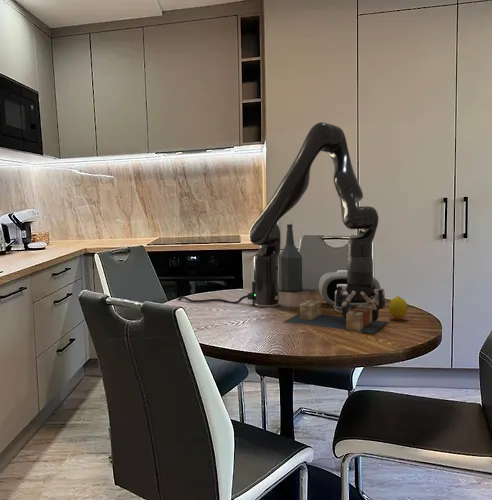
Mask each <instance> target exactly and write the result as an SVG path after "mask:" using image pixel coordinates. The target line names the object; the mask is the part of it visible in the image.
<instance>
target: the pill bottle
mask: <svg viewBox="0 0 492 500" xmlns="http://www.w3.org/2000/svg"><path fill="white" fill-rule="evenodd" d="M338 286H343V287H347V284H337V287H338ZM336 294H337V290H336V291H335V308H334V311H335V312H339V313H342V306H341V305H339V304H336ZM348 296H349V294H348V293H347V292H346V290H345V292H344V293H343V296H342V301H345V300H346V298H347V297H348ZM347 306H348V312H350V311H352V308H351V301H350V303H349V304H348V305H347Z"/></svg>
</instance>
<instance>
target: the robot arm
mask: <svg viewBox="0 0 492 500" xmlns="http://www.w3.org/2000/svg"><path fill="white" fill-rule="evenodd" d="M321 152H324V153H327V154H328V156H329V157H330V159H331V161H332V163H333V176H332V177H333V178H332V180H333V186H334V188H335V191H336V194H337V196H338V198H339V202H340V212H341V221H342V223H343V225H344V226H345V227H346V228H347V229H349V230H358V233H357V234H356V235H354V236H352V237H350V238H349V239H348V243H347V262H346V263H347V264H346V270H347V287H343V286H338V287H337V294H336V304H339V305H341V306H342V312H341V313H342V314H341V316H342V317H344V318H346V313H348V306H347V305H348V304H349V303H350V301H351V300H354V301H361V302H365V301H367V303H368V304H369V305H370V306H371V307H372V308H373V310H372V321H373V322H375V321H378V320H379V311H380V310H382V309H384V308H385V307H386V298H385V297H386V296H385V289H384V288H381V289H374V288H373V277H374V257H373V242H374V239H375V236H376V233H377V229H378V227H379V219H380V218H379V212H378V211H377V209H376V208H374V207H373V206H369V205H365V206H357V203H359V202H361V201H362V200H363V198H364V192H363V190H362V187H361V185H360V182H359V180H358V178H357V175H356V173H355V171H354V167H353V164H352V160H351V156H350V152H349V147H348V143H347V139H346V134H345V132H344V130H343V129H342V128H341V126H338V125H335V124H332V123H327V122H323V121H320V122H317V123H315V124H314V125H313V126H312V127H311V128H310V129H309V131H308V133H307V135H306V136H305V139H304V140H303V142H302V144H301V147H300V149H299V151H298V153H297V154H296V157H295V158H294V160H293V162H292V164H291V165H290V167H289V168H288V170H287V172H286V173H285V175H284V176H283V178H282V180H281V181H280V182H279V185H278V186H277V188H276V189H275V191H274V193H273V195H272V196H271V198H270V199H269V201H268V202H267V204H266V206H265V207H264V209H263V210H262V211H261V213H260V214H259V215H258V216H257V218H256V219H255V220H254V222H253V223H252V224H251V226H250V228H249V231H248V238H249V241H250V242H251V244H253V245H255V246H259V249H258V251H257V252H256V253H255V254H254V255H253V281H252V282H251V292H249V293H247V295H243V296H241V297H240V298H239V299H238V300H236V301H230V300H228V299H227V300H226V299H222V298H208V299H191V298H188V297H187V296H180V297H178V298H177V301H181V300H182V299H183V300H185V301H187V302H190V303H206V302H207V303H209V302H222V303H225V304H226V303H227V304H232V305H233V304H235V305H237V304H240V303H241V302H242V300H244V299H247V300H249V301H250V300H251V301H252V302H251V303H252V304H251V305H252V306H255V307H257V308H258V307H259V308H274V307H278V306H280V302H279V301H280V300H279V299H280V294H279V271H278V257H279V255H280V253H281V237H282V236H281V228H280V226H279V224H278V222H279V221H280V219H281V218H283V216H284V215H286V214H287V213H288V212H289V211H291V210H292V209H293V208H294V207H296V205H297V204H298V203H299V202H300V200H301V199H302V197H303V196H304V194H305V193H306V192H307V190H308V188H309V185H310V180H311V168H312V165H313V163H314V161H316V158H317V156H318V155H319V154H320V153H321ZM345 290H346V292H347V293H348V294H349V296H348V297H347V298H346V300H345V301H342V296H343V293H344V292H345ZM374 293H376V295H377V296H378V302H375V300H374V298H373V297H372V295H373V294H374ZM368 300H369V301H368Z"/></svg>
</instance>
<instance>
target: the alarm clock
mask: <svg viewBox="0 0 492 500" xmlns="http://www.w3.org/2000/svg"><path fill="white" fill-rule="evenodd" d="M337 284H347V269H338V270H337V271H332V272H331V271H330V272H326V273H324V274H323V275H321V277H320V279H319V282H318V292H319V295H320V296H321V298H322V300H323V301H324V302H325V303H326V304H328V305H329V306H332V307H333V308H334V309H335V291H336V290H337ZM373 288H374V289H382V288H381V284H380V282H379V281H378V279H377V278H375V276H373ZM372 297H373V298H374V300H375V302H376V303H378V302H379V300H378V296H377V295H376V293H374V294H373V295H372ZM368 301H369V300H368ZM359 305H369V304H368V303H367V301H365V302H361V301H354V300H351V309H355V308H357V307H358V306H359ZM369 306H370V305H369Z"/></svg>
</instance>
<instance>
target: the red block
mask: <svg viewBox="0 0 492 500" xmlns="http://www.w3.org/2000/svg"><path fill="white" fill-rule="evenodd" d="M351 311H354V312H363V327H366V326H367V325H368V324H369V309H363V308H352V309H351Z"/></svg>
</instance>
